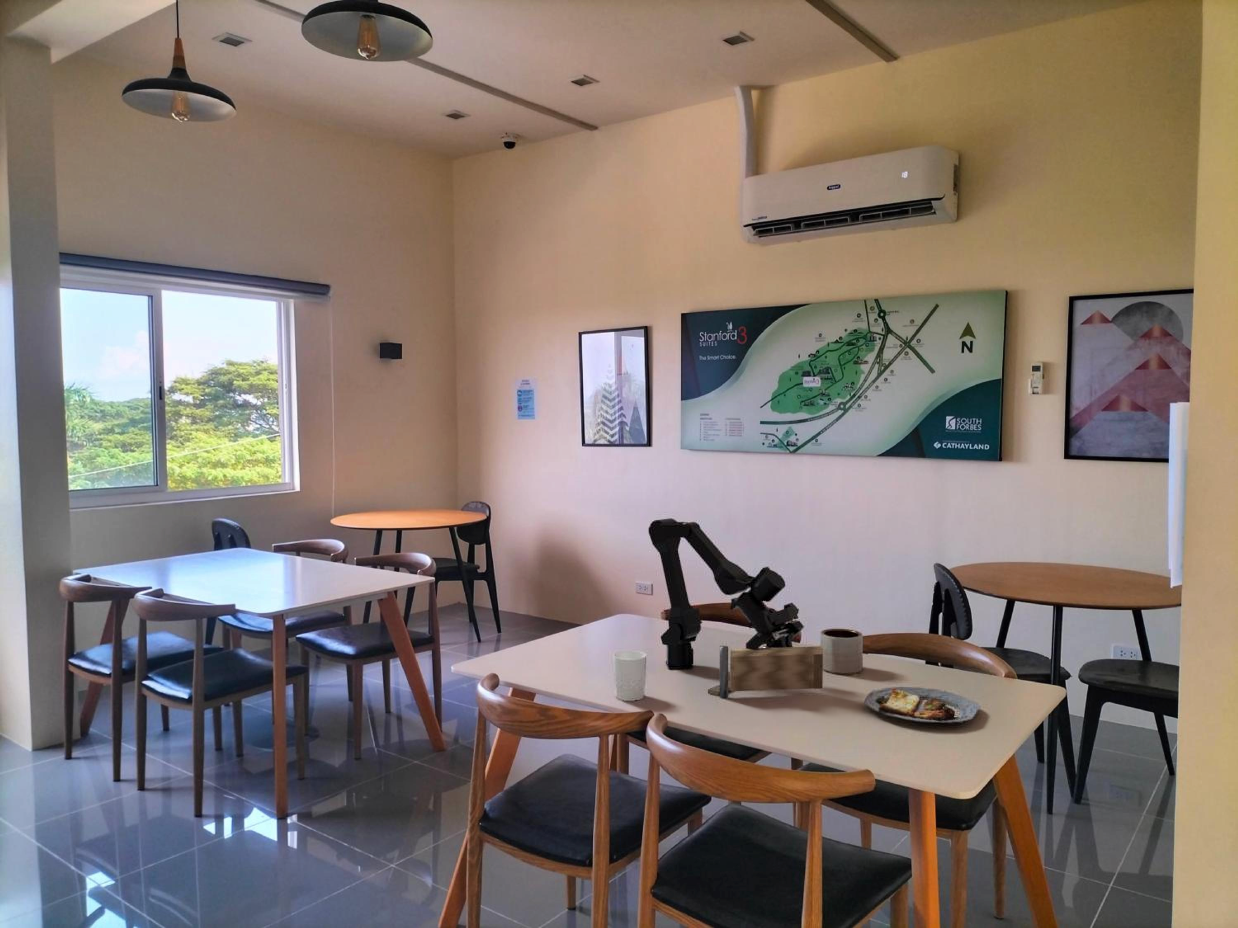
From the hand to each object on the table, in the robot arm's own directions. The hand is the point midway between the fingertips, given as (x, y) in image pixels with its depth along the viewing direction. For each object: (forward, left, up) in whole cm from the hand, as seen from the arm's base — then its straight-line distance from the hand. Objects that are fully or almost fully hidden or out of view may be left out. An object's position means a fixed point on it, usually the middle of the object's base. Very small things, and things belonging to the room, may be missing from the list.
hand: (796, 665), depth 205 cm
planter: (+17, +19, -7) cm, 26 cm away
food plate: (+24, -15, -7) cm, 29 cm away
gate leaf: (-5, -1, -5) cm, 7 cm away
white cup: (-40, 0, -7) cm, 41 cm away
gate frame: (-11, +8, -6) cm, 15 cm away
